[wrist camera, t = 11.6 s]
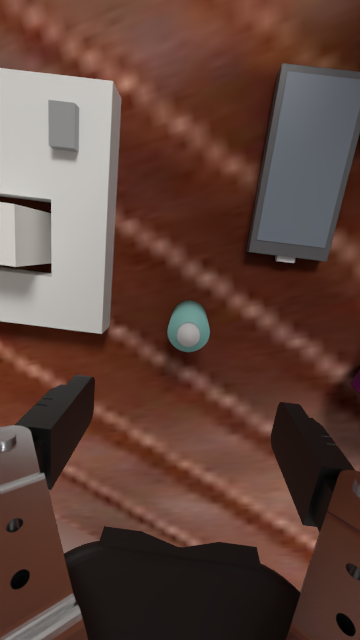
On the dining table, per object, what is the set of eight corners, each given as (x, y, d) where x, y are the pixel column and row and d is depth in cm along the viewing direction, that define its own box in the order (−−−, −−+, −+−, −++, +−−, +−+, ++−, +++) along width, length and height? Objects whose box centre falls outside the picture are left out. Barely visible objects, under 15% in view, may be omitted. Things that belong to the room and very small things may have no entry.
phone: (277, 73, 22) (282, 62, 20) (364, 83, 21) (375, 73, 20) (245, 257, 25) (247, 257, 24) (319, 266, 25) (325, 267, 24)
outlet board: (-67, 77, 23) (-109, 49, 19) (121, 99, 22) (109, 74, 19) (-43, 307, 28) (-74, 314, 25) (109, 326, 28) (98, 336, 24)
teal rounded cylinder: (173, 298, 27) (168, 311, 21) (208, 302, 27) (213, 317, 21) (170, 331, 28) (164, 353, 22) (203, 336, 27) (207, 359, 22)
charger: (7, 207, 25) (-49, 195, 19) (55, 214, 25) (13, 203, 19) (9, 256, 26) (-44, 258, 20) (54, 262, 26) (14, 266, 20)
